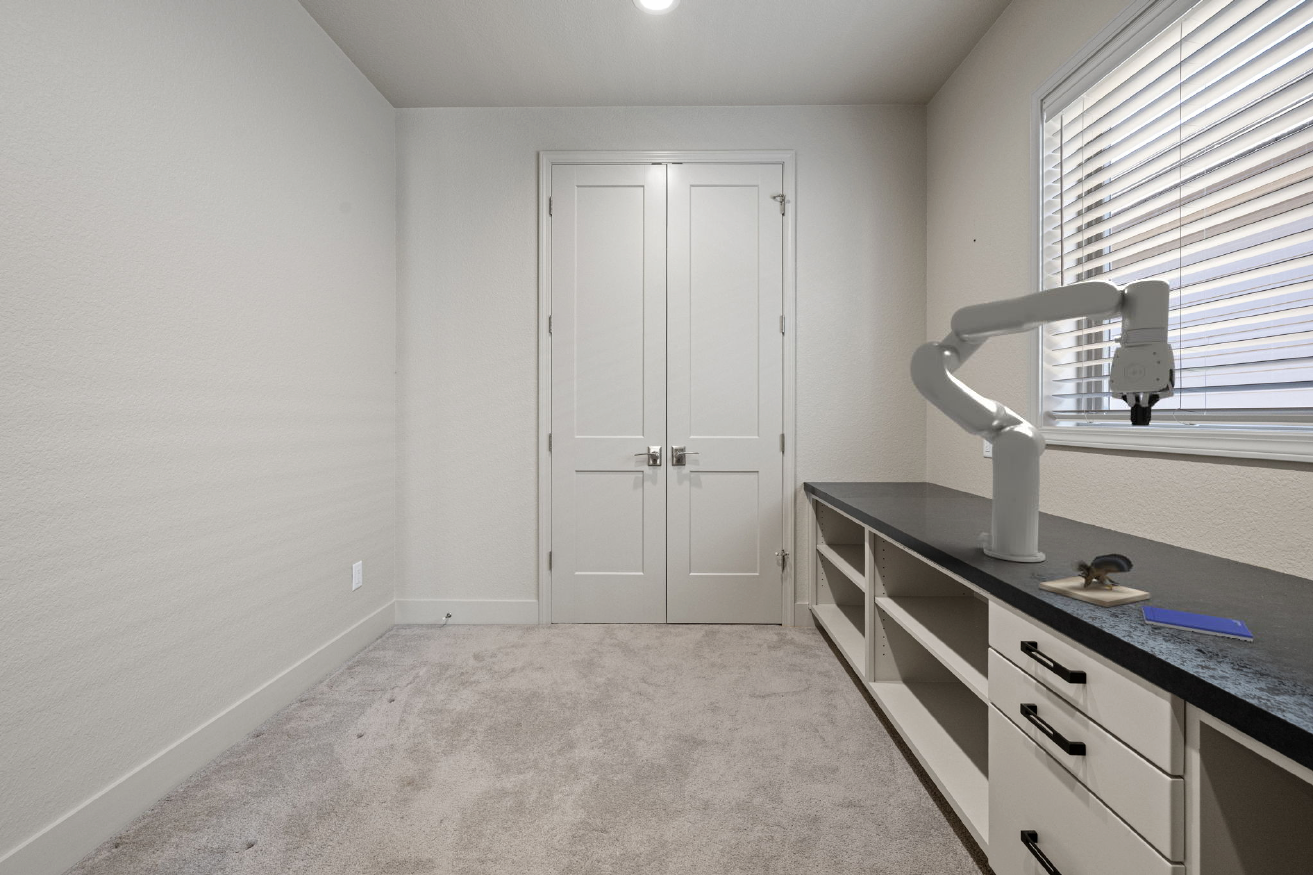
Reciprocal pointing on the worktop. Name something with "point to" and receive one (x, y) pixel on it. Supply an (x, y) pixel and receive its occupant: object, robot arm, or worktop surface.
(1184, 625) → the hard drive
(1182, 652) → the worktop surface
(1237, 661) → the worktop surface
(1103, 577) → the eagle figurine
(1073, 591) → the ash board
